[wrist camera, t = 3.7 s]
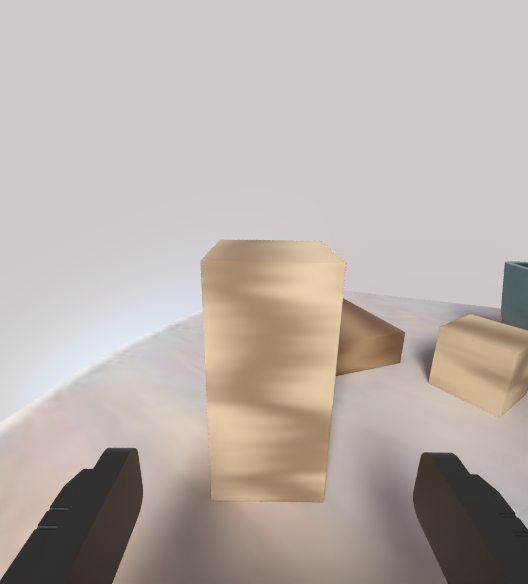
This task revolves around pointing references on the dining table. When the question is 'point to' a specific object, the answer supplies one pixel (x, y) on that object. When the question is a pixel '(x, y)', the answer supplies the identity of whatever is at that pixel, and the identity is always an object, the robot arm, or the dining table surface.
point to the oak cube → (482, 363)
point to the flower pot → (515, 295)
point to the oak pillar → (270, 366)
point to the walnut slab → (366, 341)
